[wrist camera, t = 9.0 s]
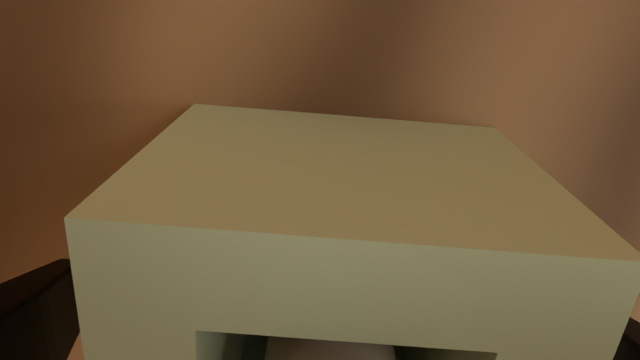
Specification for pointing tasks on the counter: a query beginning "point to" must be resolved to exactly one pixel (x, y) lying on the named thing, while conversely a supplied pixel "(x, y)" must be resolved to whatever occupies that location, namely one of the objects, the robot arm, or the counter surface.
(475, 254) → the square hollow cube
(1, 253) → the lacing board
